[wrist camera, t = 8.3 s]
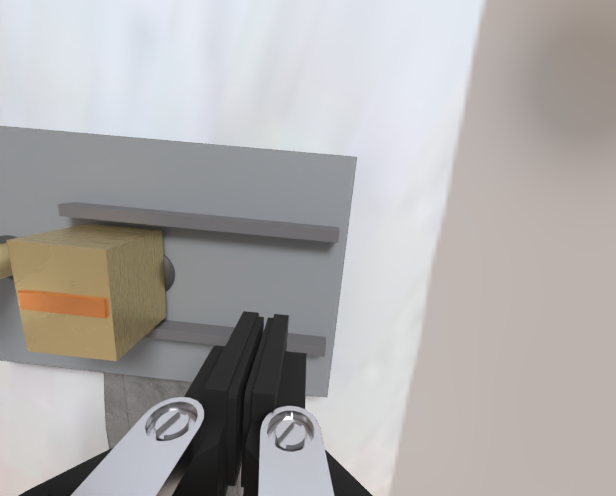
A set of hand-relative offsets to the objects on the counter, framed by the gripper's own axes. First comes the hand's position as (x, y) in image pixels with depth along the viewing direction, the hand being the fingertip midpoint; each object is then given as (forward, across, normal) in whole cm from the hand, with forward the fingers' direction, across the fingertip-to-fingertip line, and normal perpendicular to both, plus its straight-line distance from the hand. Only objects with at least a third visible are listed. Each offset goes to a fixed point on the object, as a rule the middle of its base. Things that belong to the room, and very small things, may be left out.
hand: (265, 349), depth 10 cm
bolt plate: (+7, +7, 0) cm, 10 cm away
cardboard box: (+6, +8, 0) cm, 10 cm away
